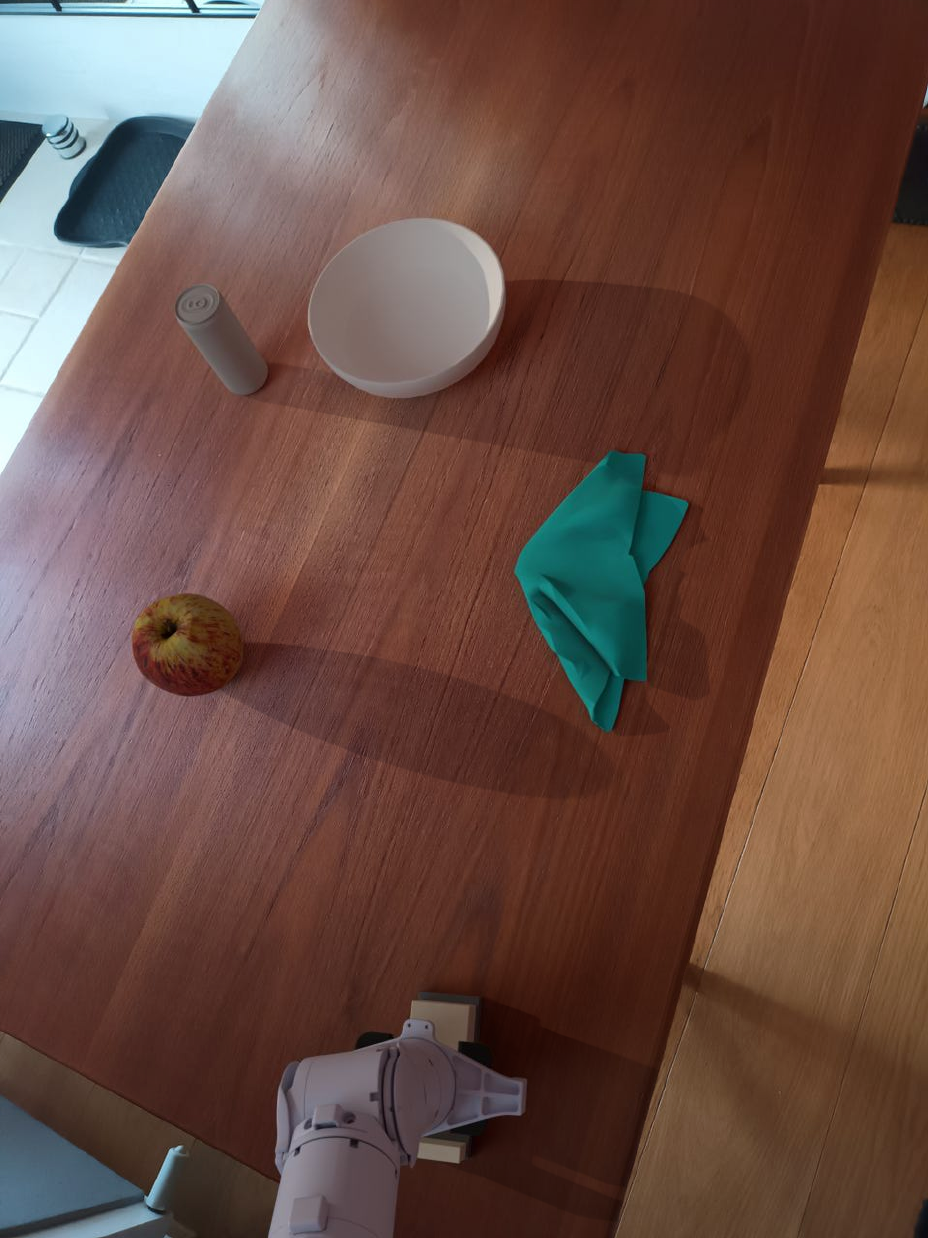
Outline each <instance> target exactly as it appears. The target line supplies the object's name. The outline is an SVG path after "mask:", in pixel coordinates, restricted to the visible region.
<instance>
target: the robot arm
mask: <svg viewBox="0 0 928 1238" xmlns="http://www.w3.org/2000/svg"><path fill="white" fill-rule="evenodd" d="M410 1024H411V1026H410ZM427 1026H429V1028H428V1027H427ZM527 1084H528V1078H526V1077H518V1076H517V1077H516V1076H514V1077H513V1076H512V1077H509V1076H506V1075H503V1074H502V1073H499V1072H497V1071H495V1070H493V1052H492V1049H491V1047H490V1046H488V1045H486V1044H484V1043H482V1042H479V1043H475V1042H466V1041H459V1042H458V1051H456V1050H454V1049H452V1048H450V1047H448V1046H446V1045H445V1044H443V1043H441V1042H439V1041H438V1040H437V1039H436V1037H435V1025H434V1023H433V1022H432V1021H430V1020H422V1019H410V1018H409V1019H407V1020H405V1021H404V1023H403V1026H402V1032H401V1034H400V1036H398V1037H396V1038H395V1037H394V1034H393V1033H391V1032H380V1031H371V1030H370V1031H365V1032H363V1033H362V1034H360V1035H359V1036H358V1037H357V1040H356V1041H355V1046H354V1050H351V1051H345V1052H344V1051H343V1052H337V1053H331V1054H324V1055H322V1054H321V1055H315V1056H310V1057H305V1058H303V1059H302V1060H301V1061H296V1060H293V1061H291V1062H290V1063H289V1064H288V1065H287V1066H286V1068H285V1070H284V1072H283V1074H282V1077H281V1081H280V1083H279V1086H278V1091H277V1098H276V1099H277V1102H276V1130H277V1131H276V1133H277V1136H276V1145H275V1150H274V1153H275V1158H274V1163H275V1166H276V1168H277V1170H278V1172H279V1175H280V1182H279V1186H278V1190H277V1196H276V1200H275V1204H274V1208H273V1213H272V1217H271V1222H270V1227H269V1231H268V1236H267V1238H394V1229H395V1222H396V1221H395V1220H396V1210H397V1201H398V1191H399V1182H400V1175H401V1174H400V1173H401V1166H408V1165H409V1168H410V1169H413V1168H414V1167H415V1165H416V1162H417V1159H418V1158H417V1156H418V1151H419V1144H420V1137H424V1136H427V1135H431V1134H434V1133H438V1132H441V1131H445V1130H449V1129H450V1133H454V1134H462V1135H470V1136H472V1137H474V1136H475V1137H477V1136H479V1135H481V1134H482V1133H484V1131H486V1129H487V1127H488V1124H489V1119H492V1118H495V1117H499V1116H519V1117H520V1116H522V1115H523V1114H524V1113H525V1112H526V1105H527V1087H528V1085H527Z"/></svg>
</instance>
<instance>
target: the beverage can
mask: <svg viewBox="0 0 928 1238" xmlns="http://www.w3.org/2000/svg"><path fill="white" fill-rule="evenodd" d="M173 312H174V315H175V317H176V320H177V322H178V324H179V325H180V327H181V329H183V331H184V332H185V333H186V335H187V336H188V338H189V339H190V340H191V342H192V343H193V345H195V347H196V349H197V350H198V351H199V352H200V354H201V355H202V356H203V358H204V359H205V361H206V362H207V363H208V365H209V366H210V368H211V369H212V370H213V372H214V373H215V374H216V375H217V377H218V379H219V380H220V381H221V382H222V383H223V385H224V386H225V387H226V389H227V390H228V391H229V392H231V393H233V394H235V395H240V396H246V395H247V396H248V395H251V394H252V395H253V393H256V392H258V391H259V390H260V389H261V388H262V387H263V386H264V384H265V382H266V380H267V378H268V374H269V369H268V368H269V367H268V365H267V362H266V361H265V360H264V358H263V357H262V354H261V353H260V352H259V350H258V348H257V347H256V346H255V344H254V342H253V340H251V338H250V336H249V335H248V333H247V332H246V330H245V328H244V327H243V325H242V323H241V322H240V320H239V319H238V317H237V316H236V314H235V312H234V310H232V308H231V306H230V305H229V303H228V302H227V300H226V298H225V297H224V295H223V294H222V293H221V291H219V290H218V289H217V288H216V287H215V286H214V285H212V284H210V283H206V282H204V283H203V282H200V283H195V284H192V285H190V286H188V287H186V288H185V289H183V290H182V291H181V292H180V293H179V294H178V296H177V297H176V299H175V301H174V305H173Z"/></svg>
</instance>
